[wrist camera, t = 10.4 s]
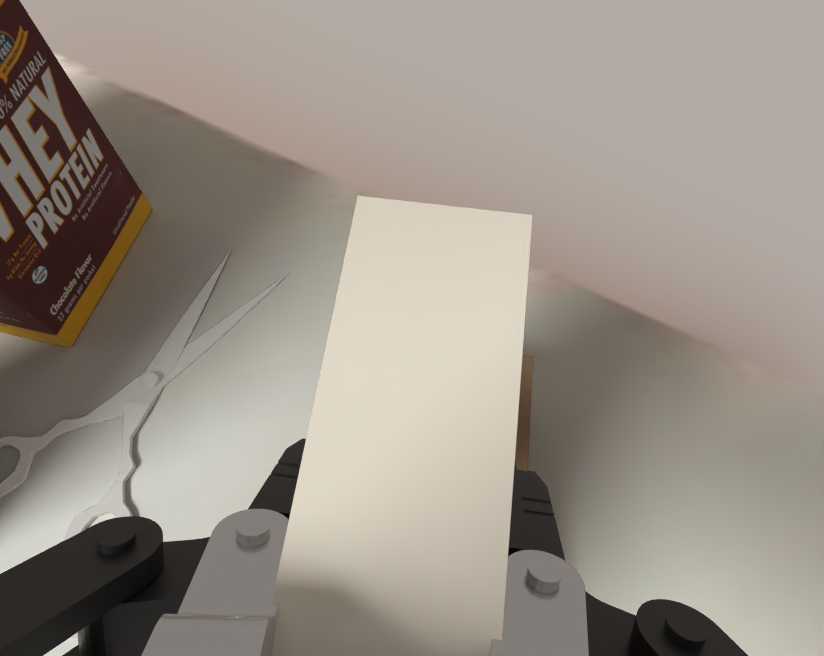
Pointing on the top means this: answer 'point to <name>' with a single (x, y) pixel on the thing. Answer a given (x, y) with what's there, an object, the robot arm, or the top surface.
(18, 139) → the supplement box
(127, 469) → the scissors
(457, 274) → the white rectangular block
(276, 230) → the top surface
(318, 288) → the top surface
